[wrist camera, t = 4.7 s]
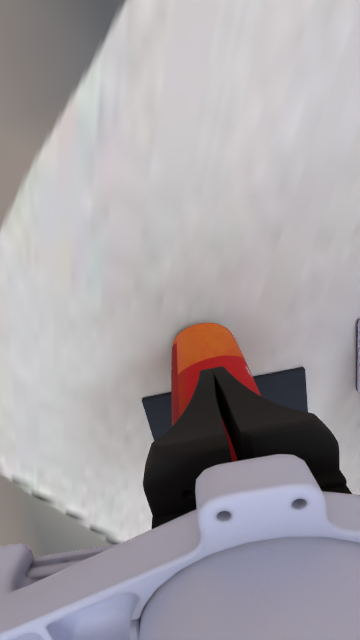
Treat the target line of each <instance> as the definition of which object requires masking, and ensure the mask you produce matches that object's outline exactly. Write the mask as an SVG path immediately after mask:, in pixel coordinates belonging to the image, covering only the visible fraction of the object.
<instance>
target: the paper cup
mask: <svg viewBox="0 0 360 640" xmlns="http://www.w3.org/2000/svg"><path fill="white" fill-rule="evenodd" d="M220 366H223V367H225V368H226V369H227V370H228V371H229V372H230V373H231V374H232V375H233V376H234V377H235V378H236V379H237V380H238V381H240V382H241V383H242V384H243V385H245V386H246V387H247V388H249V389H250V390H252V391H253V392H255V393H256V394H258V395H260V396H261V394H260V392H259V390H258V388H257V386H256V383H255V381H254V379H253V377H252V375H251V372H250V370H249V368H248V366H247V364H246V361H245V359H244V357H243V355H242V353H241V351H240V349H239V346H238V344H237V342H236V340H235V338H234V337H233V335H232V333H231V332H230V331H229V330H228V329H227V328H225V327H224V326H221V325H219V324H214V323H201V324H196V325H193V326H190V327H188V328H186V329H185V330H183V331H182V332H181V333H179V334H178V336H177V337H176V338H175V340H174V342H173V346H172V426H173V425H174V424H175V422H176V421H177V420H178V419H179V417H180V416H181V415H182V413H183V412H184V410H185V409H186V407H187V405H188V404H189V402H190V400H191V398H192V395H193V393H194V391H195V388H196V385H197V382H198V379H199V372H200V371H201V370H204V369H209V368H215V367H220ZM222 422H223V426H224V429H225V432H226V435H227V438H228V442H229V446H230V451H231V457H232V462H235V461H237V457H236V454H235V451H234V448H233V445H232V442H231V440H230V437H229V434H228V431H227V429H226V426H225V423H224V420H223V418H222Z"/></svg>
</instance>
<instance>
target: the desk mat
mask: <svg viewBox="0 0 360 640" xmlns="http://www.w3.org/2000/svg"><path fill="white" fill-rule="evenodd" d="M253 379H254V381H255V383H256V386H257V388H258V390H259V392H260V394H261V396H262V397H264V398H266V399H268V400H270V401H272V402H275V403H277V404H280V405H282V406H285V407H289V408H292V409H295V410H299V411H304V412H308V409H307V393H306V378H305V369H304V368H303V367H302V368H296V369H291V370H286V371H281V372H276V373H270V374H265V375H260V376H255V377H253ZM142 402H143V406H144V409H145V412H146V415H147V419H148V422H149V425H150V428H151V431H152V435H153V438H154V441H156V440H157V439H158V438H159V437H161V436H162V435H163V434H164V433H165V432H167V431H168V430H169V429H170V428H171V427H172V393H167V394H161V395H156V396H151V397H146V398H142Z"/></svg>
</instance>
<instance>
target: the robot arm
mask: <svg viewBox="0 0 360 640" xmlns="http://www.w3.org/2000/svg"><path fill="white" fill-rule="evenodd" d="M357 390H358V392H359V393H360V320H359V321H358V359H357ZM222 418H223V420H224V423H225V426H226V429H227V431H228V434H229V437H230V440H231V442H232V445H233V448H234V451H235V454H236V457H237V461H235V462H232V457H231V451H230V446H229V442H228V438H227V435H226V432H225V429H224V426H223V422H222ZM143 487H144V492H145V495H146V497H147V500H148V503H149V506H150V509H151V512H152V515H153V518H152V530H149V531H147V532H145V533H143V534H141V535H138V536H136V537H134V538H132V539H130V540H127V541H125V542H123V543H121V544H115V545H109V546H103V547H96V548H90V549H84V550H77V551H71V552H65V553H59V554H53V555H46V556H40V557H34V556H33V554H32V551H31V549H30V548H29V547H28V546H27V545H25V544H12V545H6V546H0V640H360V495H355V494H352V493H351V492H350V490H349V489H348V487H347V486H346V479H345V477H344V476H343V474H342V473H341V471H340V470H339V446H338V441H337V440H336V438H335V437H334V435H333V434H332V432H331V431H330V430H329V429H328V428H327V426H326V425H325V424H324V423H323V422H322V421H321V420H320V419H319V418H318V417H317V416H316V415H315V414H312V413H308V412H304V411H299V410H295V409H292V408H289V407H285V406H282V405H280V404H277V403H275V402H272V401H270V400H268V399H266V398H264V397H262V396H260V395H258V394H256V393H255V392H253V391H252V390H250V389H249V388H247V387H246V386H245V385H243V384H242V383H241V382H240V381H238V380H237V379H236V378H235V377H234V376H233V375H232V374H231V373H230V372H229V371H228V370H227V369H226V368H225V367H223V366H220V367H215V368H209V369H204V370H201V371H200V372H199V379H198V382H197V385H196V388H195V391H194V393H193V395H192V398H191V400H190V402H189V404H188V405H187V407H186V409H185V410H184V412H183V413H182V415H181V416H180V417H179V419H178V420H177V421H176V422H175V424H174V425H173V426H172V427H171V428H170V429H169V430H168V431H167V432H165V433H164V434H163V435H162V436H161V437H159V438H158V439H157V440H156V441H154V442H153V443H152V445H151V447H150V451H149V454H148V457H147V461H146V465H145V472H144V480H143Z"/></svg>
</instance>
